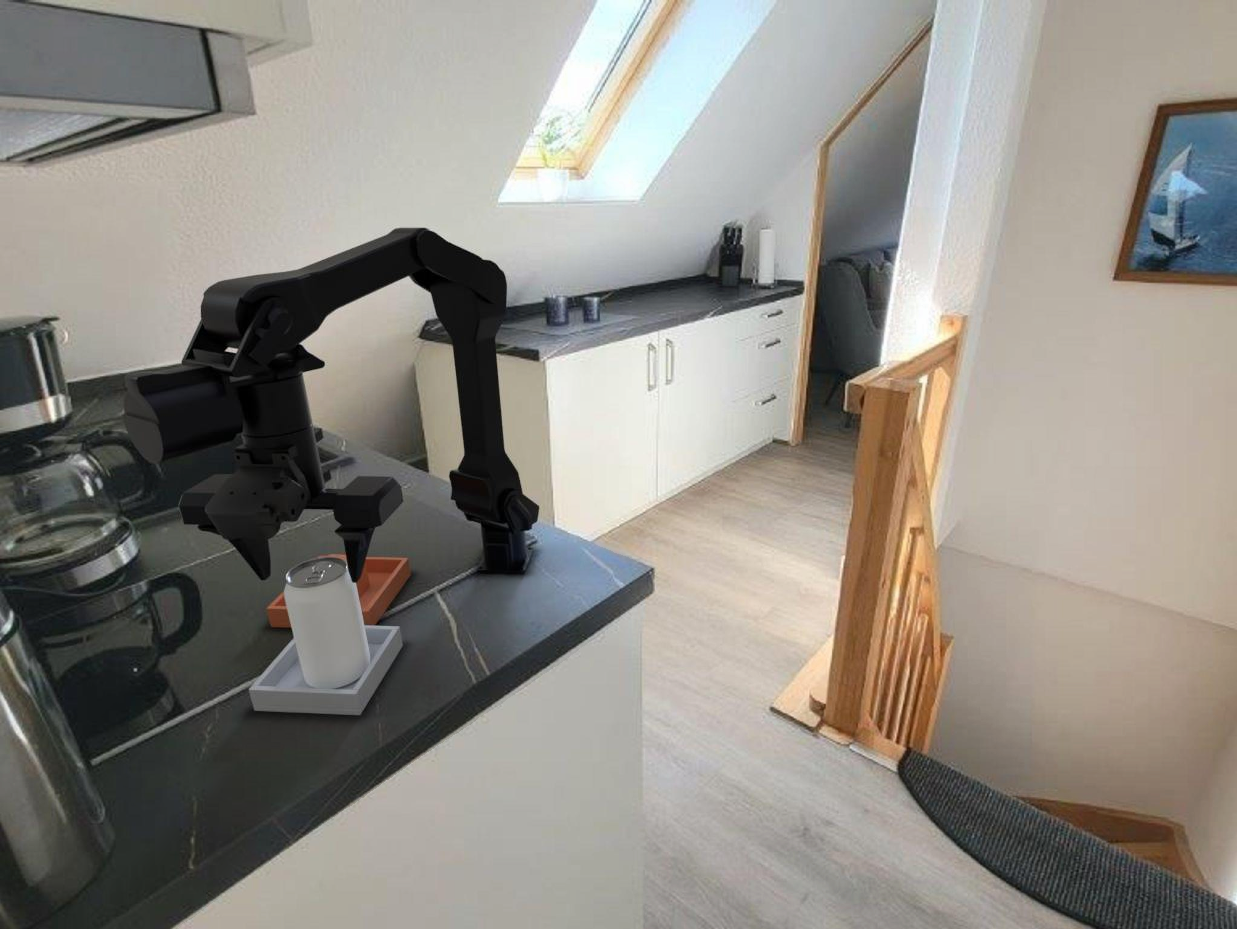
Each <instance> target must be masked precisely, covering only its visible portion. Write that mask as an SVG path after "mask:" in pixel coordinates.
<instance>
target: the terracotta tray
mask: <svg viewBox="0 0 1237 929" xmlns="http://www.w3.org/2000/svg"><path fill="white" fill-rule="evenodd" d="M328 556H329V555H319V556H317V558H320V557H328ZM365 563H366V568H367V573H368V579H369V584H370V586H369V587H368V589H367V590H366V591H365V592H364V594H363V595H362V596H361V597H360V599H359V601H360V606H361V611H362V616H363V621H364V625H370V626H377V623H378V622H379V621H380V619H381V618H382V616H383V615H384V614H385V612H386V611H387V609H388V608H389V607H390V605H391V604H392V602H393V601H394V600H395V598H396V597H397V595H398V594H399V592H400V591H401V589H402V588H403V587H404V585H405V584H406V582H408V580H409V578H410V577H411V576H412V573H411V572H412V571H411V566H410V561H409V557H389V556H385V557H384V556H366V560H365ZM266 612H267V616H268V621H269V624H270V627H271V628H287V629H288V628H289V629H290V628H291V629H292V627H291V623H290V619H289V615H288V611H287V606H286V602H285V597H284V590H283V591H282V592H281V593H280V594H279V595H278V596H277V597H276V598H275V599H274V600H273V601H272V602H271V603H270V604H268V606H267V607H266Z"/></svg>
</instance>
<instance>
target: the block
mask: <svg viewBox="0 0 1237 929" xmlns="http://www.w3.org/2000/svg"><path fill="white" fill-rule="evenodd" d="M327 556H328V557H338V558H341V559H343V560H345V561H346V562H347V559H346V554H335V553H334V554H332V553H329V555H327ZM356 586H357V591H358V596H359V599H360V597H361V596H362V595H363V594H364V592H365V591H366V590H367V589H368V587H369V586H370V584H369V579H368V573H367V568H366V563H365V564H364V567H363V571H362V575H361V578H360V579H359V580H358V582H357V583H356Z"/></svg>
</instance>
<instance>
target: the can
mask: <svg viewBox="0 0 1237 929" xmlns="http://www.w3.org/2000/svg"><path fill="white" fill-rule="evenodd" d="M284 580H285V582H286V583H285V586H284V589H283V591H284V597H285V602H286V606H287V611H288V615H289V619H290V623H291V627H292V628H291V630H292V636H293V638H294V640H295V644H296V648H297V652H298V656H299V660H300V664H301V668H302V671H303V675H304V679H305V681H306V683H307V684H308V685H310V686H311V687H314V688H320V689H339V688H343V687H346V686H348V685H350V684H352V683H354V682H355V681H357V680H358V679H360V678H361V676H362V675H363V673H364V672H365V670H366V669H367V667H368V666H369V664H370V662H371V659H370V652H369V647H368V642H367V636H366V631H365V626H364V621H363V616H362V611H361V606H360V601H359V596H358V591H357V586H356V583H353V582H352V580H351V577H350V574H349V571H348V565H347V562H346V561H345V560H343V559H341V558H338V557H320V558H318V557H315V558H311V559H307V560H305V561H302V562H300V563H298V564H296V565H294V566H293V567H291V568H290V569H289V570H288V571H287V572H286V574H285V576H284Z"/></svg>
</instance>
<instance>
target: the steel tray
mask: <svg viewBox="0 0 1237 929" xmlns="http://www.w3.org/2000/svg"><path fill="white" fill-rule="evenodd" d="M364 626H365V631H366V636H367V642H368V647H369V652H370V659H371V662H370V664H369V666H368V667H367V669H366V670H365V672H364V673H363V675H362V676H361V678H360V679H358V680H357V681H355V682H354V683H352V684H350V685H348V686H346V687H343V688H339V689H320V688H314V687H311V686H310V685H308V684H307V683H306V681H305V679H304V675H303V671H302V668H301V664H300V660H299V656H298V652H297V648H296V644H295V640H294V637H293V638H292V639H291V640H290V642H289V643H287V645H286V646H285V647H284V648H283V650H282V651H281V652H280V653H279V654H278V655H277V656H276V658H274V659H273V661H272V662H271V663H270V665H268V667H267V668H266V669H265V670H264V671H263V672H262V673H261V675H260V676H259V677H258V678H257V679H256V680H255V681H254V683H252V685H251V686H250V687H249V688H248V693H249V697H250V700H251V704H252V707H253V710H254V711H255V712H270V713H271V712H274V713H297V714H298V713H299V714H319V715H320V714H321V715H322V714H323V715H341V716H343V715H344V716H361V715H362V713H363V711H364V710H365V708H366V707H367V705H368V703H369V702H370V700H371V698H372V696H373V695H374V694H375V692H376V691H377V689H378V687H379V685H380V684H381V682H382V680H384V678H385V677H386V674H387V672H388V671H389V669H390V668H391V666H392V664H393V663H394V661H395V660H396V658H397V656H398V654H399V653H400V651H401V649H402V648H403V646H404V644H403V638H402V633H401V627H400V626H399V625H397V626H395V625H375V626H370V625H364Z"/></svg>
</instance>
